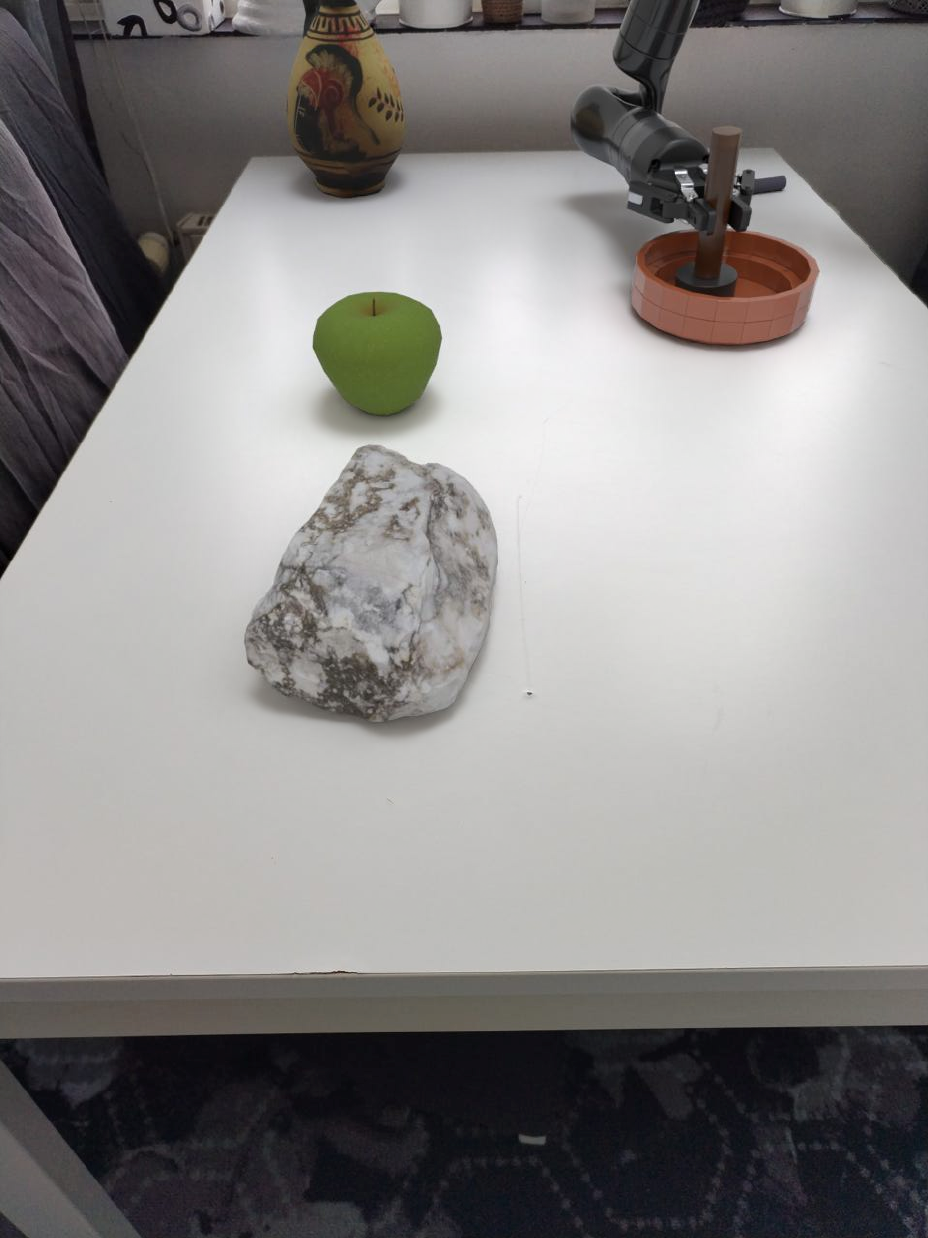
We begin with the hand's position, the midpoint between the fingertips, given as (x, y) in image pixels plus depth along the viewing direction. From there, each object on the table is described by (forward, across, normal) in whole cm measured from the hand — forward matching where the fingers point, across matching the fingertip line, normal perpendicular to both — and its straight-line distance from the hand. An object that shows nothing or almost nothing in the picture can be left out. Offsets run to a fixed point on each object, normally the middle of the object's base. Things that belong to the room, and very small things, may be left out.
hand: (728, 222), depth 80 cm
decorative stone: (+35, -36, +10) cm, 51 cm away
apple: (+8, -34, +10) cm, 36 cm away
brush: (-3, 0, +9) cm, 9 cm away
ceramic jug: (-50, -32, +10) cm, 60 cm away
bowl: (-3, +2, +10) cm, 10 cm away
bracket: (-40, +16, +10) cm, 44 cm away
